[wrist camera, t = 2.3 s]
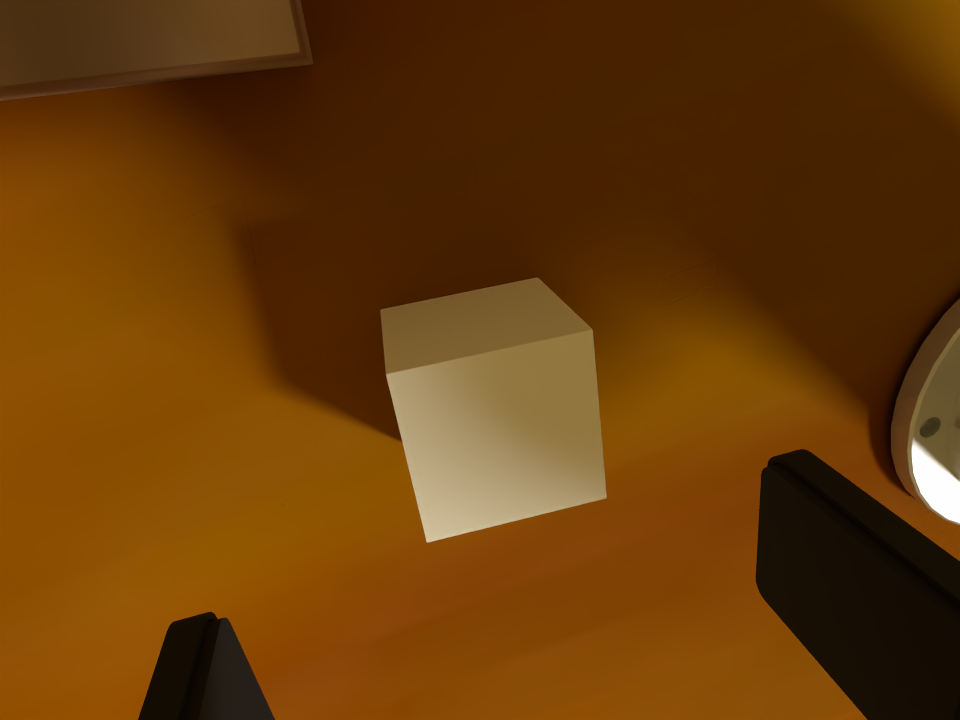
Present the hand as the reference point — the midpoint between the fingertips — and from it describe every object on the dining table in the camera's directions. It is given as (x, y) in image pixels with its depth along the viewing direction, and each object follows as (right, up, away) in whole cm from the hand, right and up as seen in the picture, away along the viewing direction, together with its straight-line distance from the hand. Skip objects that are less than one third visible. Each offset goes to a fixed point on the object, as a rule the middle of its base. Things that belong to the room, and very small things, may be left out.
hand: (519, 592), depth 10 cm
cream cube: (-1, +4, +9) cm, 10 cm away
